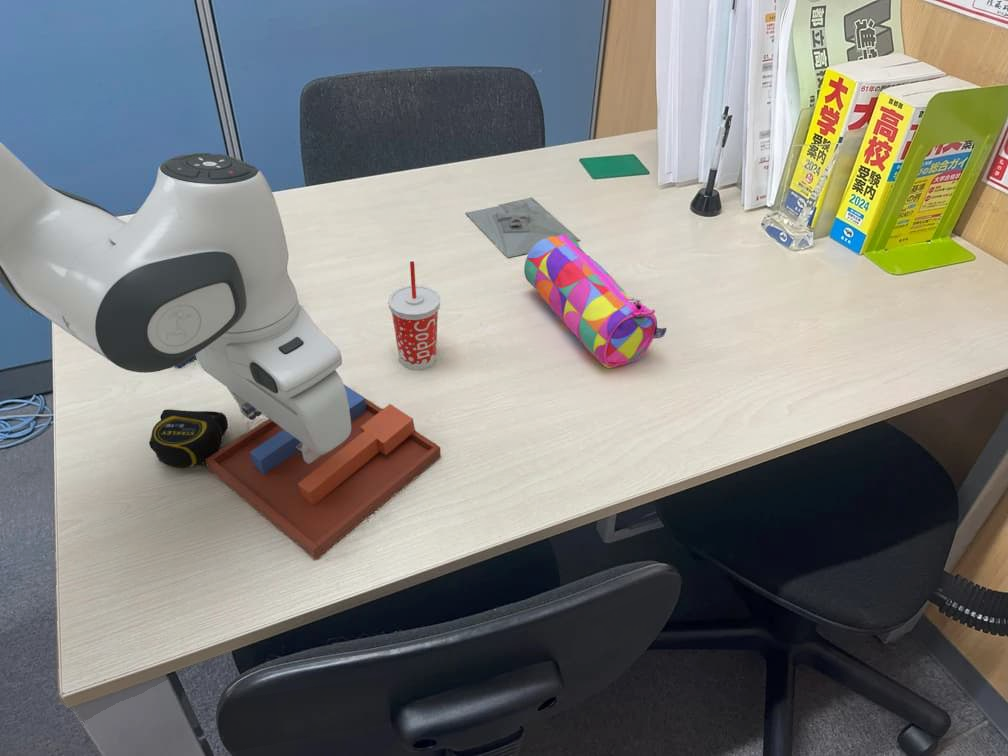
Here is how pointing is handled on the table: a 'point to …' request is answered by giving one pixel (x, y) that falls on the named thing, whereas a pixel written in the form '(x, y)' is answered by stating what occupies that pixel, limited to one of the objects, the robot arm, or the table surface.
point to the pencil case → (590, 302)
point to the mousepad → (518, 225)
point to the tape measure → (187, 437)
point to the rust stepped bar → (358, 452)
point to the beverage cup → (415, 323)
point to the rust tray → (337, 509)
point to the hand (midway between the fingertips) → (280, 434)
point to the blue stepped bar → (286, 444)
